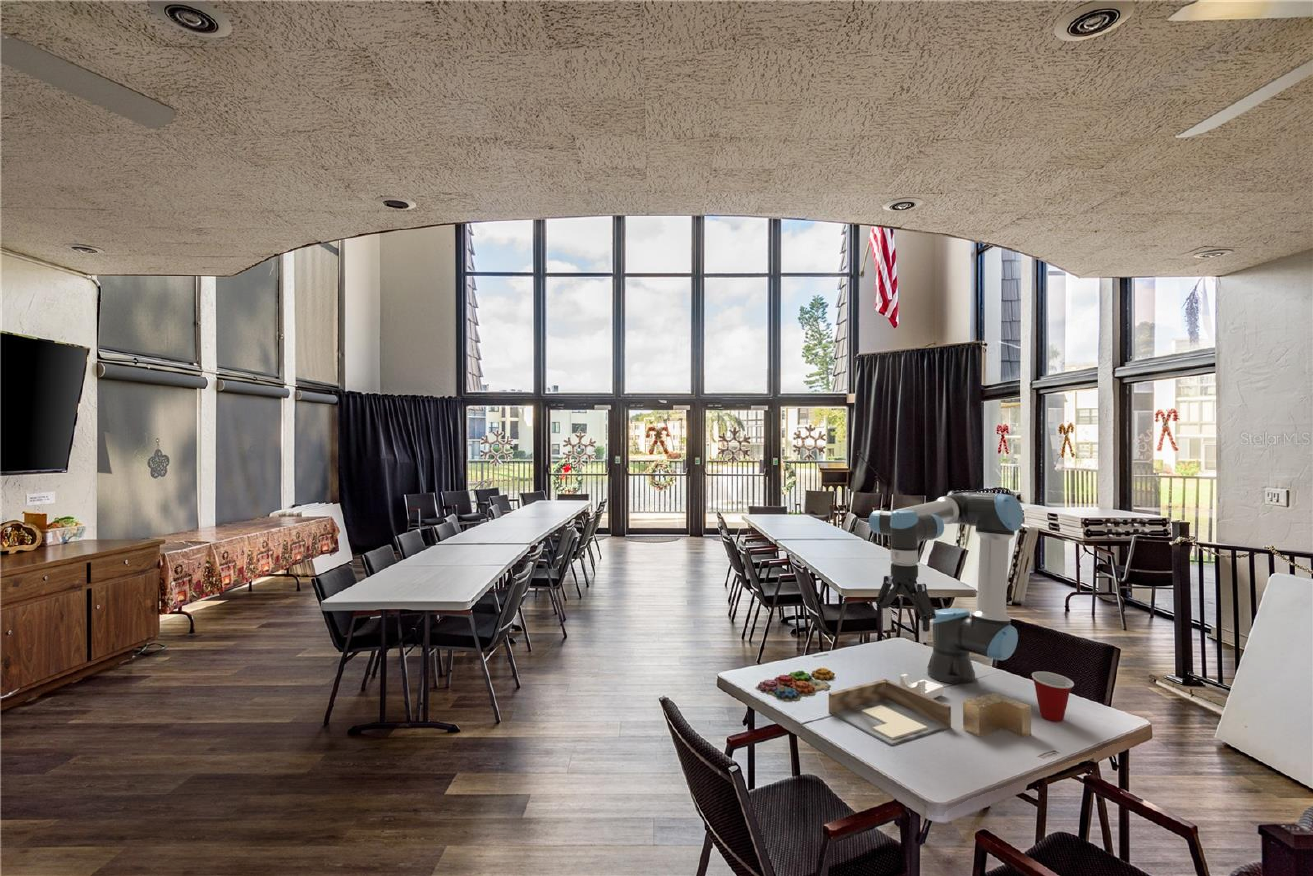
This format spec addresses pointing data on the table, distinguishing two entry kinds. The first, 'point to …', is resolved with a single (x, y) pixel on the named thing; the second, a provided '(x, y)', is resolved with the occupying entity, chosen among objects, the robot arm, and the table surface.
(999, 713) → the wooden l-shaped block
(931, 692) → the bracket
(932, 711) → the arena
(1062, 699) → the plastic cup
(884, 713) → the pad
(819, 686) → the gear puzzle
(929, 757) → the table surface
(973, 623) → the robot arm
